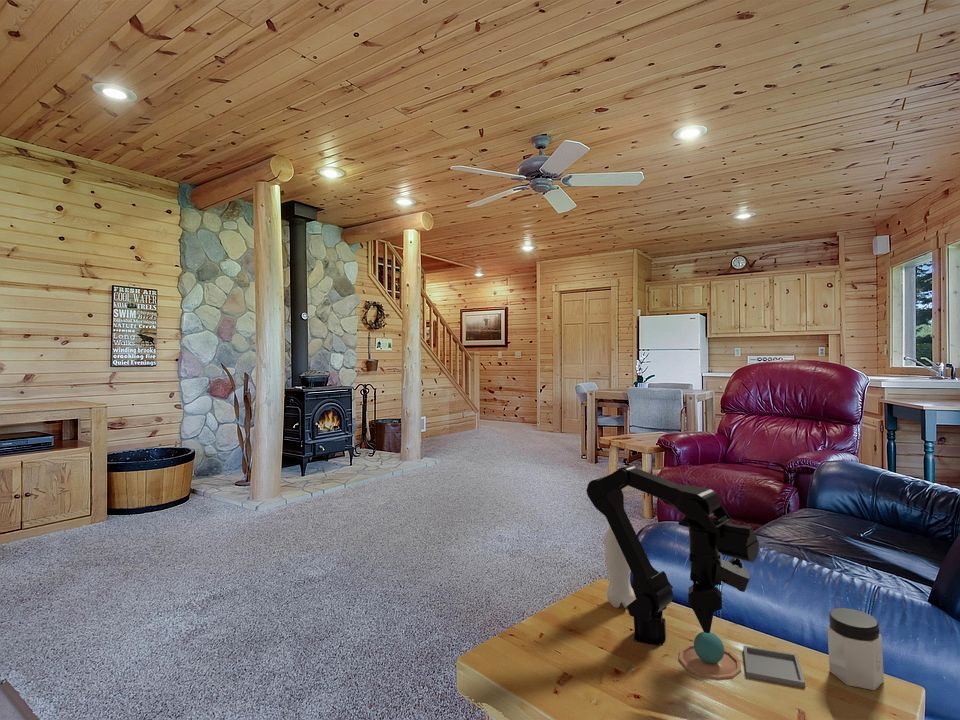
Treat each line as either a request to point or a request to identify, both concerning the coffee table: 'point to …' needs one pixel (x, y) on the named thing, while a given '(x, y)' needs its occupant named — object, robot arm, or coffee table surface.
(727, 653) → the dish
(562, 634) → the coffee table surface
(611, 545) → the water bottle
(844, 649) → the jar
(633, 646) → the coffee table surface
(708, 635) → the ball
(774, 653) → the tray
